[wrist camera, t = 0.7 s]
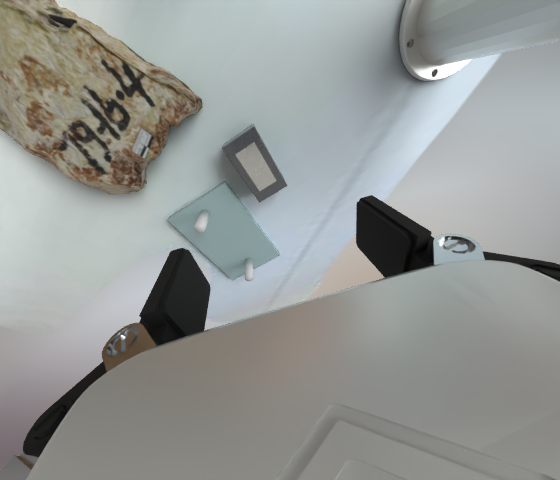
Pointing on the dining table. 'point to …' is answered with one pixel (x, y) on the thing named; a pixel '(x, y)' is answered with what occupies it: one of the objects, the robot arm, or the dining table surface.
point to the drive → (254, 163)
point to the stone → (84, 96)
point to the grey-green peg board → (225, 232)
